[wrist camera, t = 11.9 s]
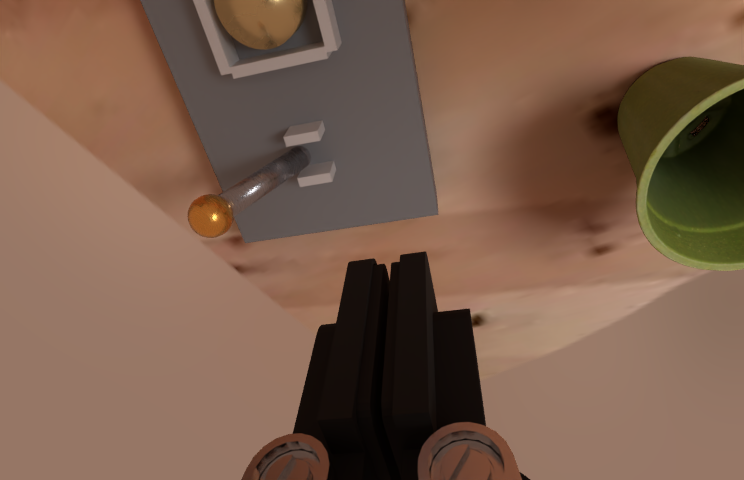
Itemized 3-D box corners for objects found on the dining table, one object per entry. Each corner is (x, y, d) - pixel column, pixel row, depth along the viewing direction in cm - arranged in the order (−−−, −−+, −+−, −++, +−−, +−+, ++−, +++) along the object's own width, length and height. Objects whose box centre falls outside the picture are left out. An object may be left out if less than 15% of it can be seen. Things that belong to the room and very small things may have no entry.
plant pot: (605, 17, 31) (685, 59, 22) (796, 21, 31) (962, 67, 21) (563, 181, 38) (611, 267, 29) (720, 187, 37) (821, 278, 28)
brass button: (292, -60, 27) (284, -58, 26) (316, 33, 30) (311, 39, 28) (212, -39, 28) (199, -36, 27) (242, 49, 31) (232, 57, 29)
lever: (315, 136, 33) (197, 211, 27) (325, 170, 34) (215, 249, 28) (289, 134, 34) (171, 205, 28) (299, 167, 36) (190, 241, 30)
